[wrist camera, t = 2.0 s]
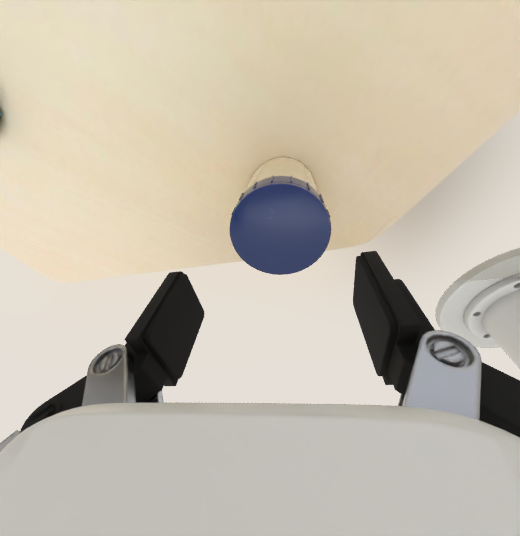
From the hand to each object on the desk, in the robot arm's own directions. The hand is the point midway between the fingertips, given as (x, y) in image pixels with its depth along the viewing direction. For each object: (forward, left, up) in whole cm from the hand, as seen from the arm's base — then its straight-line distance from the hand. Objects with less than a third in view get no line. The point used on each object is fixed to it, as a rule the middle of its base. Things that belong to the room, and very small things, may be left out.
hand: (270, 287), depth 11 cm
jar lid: (0, 0, -6) cm, 6 cm away
